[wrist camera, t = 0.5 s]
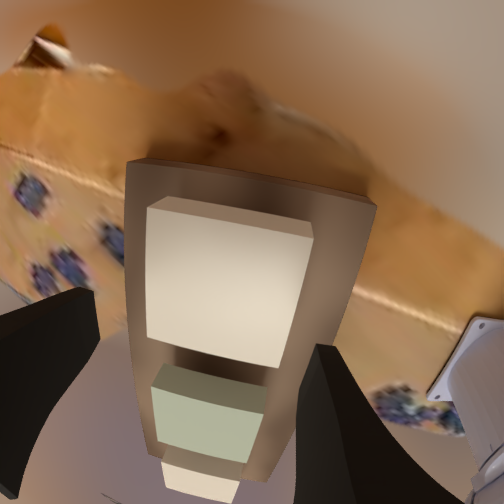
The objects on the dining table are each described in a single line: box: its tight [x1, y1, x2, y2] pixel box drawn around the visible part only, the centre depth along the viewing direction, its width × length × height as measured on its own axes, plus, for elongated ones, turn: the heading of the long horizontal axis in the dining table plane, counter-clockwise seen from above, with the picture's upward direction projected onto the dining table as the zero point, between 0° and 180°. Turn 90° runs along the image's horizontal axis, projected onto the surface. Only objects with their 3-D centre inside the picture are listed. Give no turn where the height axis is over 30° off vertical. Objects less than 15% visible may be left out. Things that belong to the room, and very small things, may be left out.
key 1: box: [145, 196, 314, 368], centre depth 12 cm, size 6×6×2 cm
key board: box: [124, 158, 377, 482], centre depth 19 cm, size 12×27×2 cm, turn 171°
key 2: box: [161, 444, 243, 503], centre depth 20 cm, size 6×6×2 cm
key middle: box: [151, 363, 267, 463], centre depth 16 cm, size 6×6×2 cm
